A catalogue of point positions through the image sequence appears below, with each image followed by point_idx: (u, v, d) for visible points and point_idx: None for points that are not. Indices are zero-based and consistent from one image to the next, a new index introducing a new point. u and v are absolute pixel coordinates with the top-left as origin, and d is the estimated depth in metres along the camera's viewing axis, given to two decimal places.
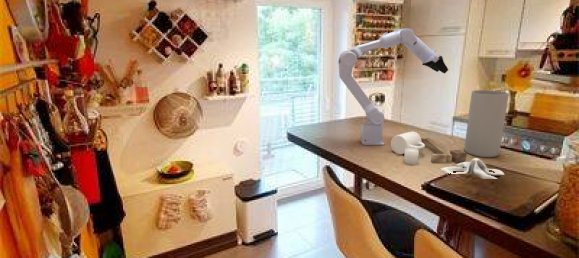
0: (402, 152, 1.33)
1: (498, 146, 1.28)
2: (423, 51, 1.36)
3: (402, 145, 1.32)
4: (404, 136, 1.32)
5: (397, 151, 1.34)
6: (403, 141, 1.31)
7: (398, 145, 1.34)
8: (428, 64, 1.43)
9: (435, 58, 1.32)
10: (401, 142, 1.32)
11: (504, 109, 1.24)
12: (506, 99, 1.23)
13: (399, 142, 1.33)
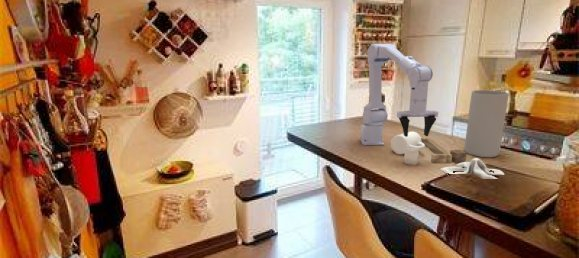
0: (402, 152, 1.33)
1: (498, 146, 1.28)
2: (410, 101, 1.20)
3: (402, 145, 1.32)
4: (404, 136, 1.32)
5: (397, 151, 1.34)
6: (403, 141, 1.31)
7: (398, 145, 1.34)
8: (425, 120, 1.23)
9: (397, 113, 1.20)
10: (401, 142, 1.32)
11: (504, 109, 1.24)
12: (506, 99, 1.23)
13: (399, 142, 1.33)
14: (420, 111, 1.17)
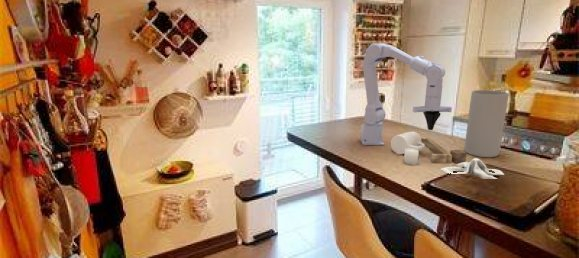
0: (402, 152, 1.33)
1: (498, 146, 1.28)
2: (425, 98, 1.30)
3: (402, 145, 1.32)
4: (404, 136, 1.32)
5: (397, 151, 1.34)
6: (403, 141, 1.31)
7: (398, 145, 1.34)
8: None
9: (413, 109, 1.31)
10: (401, 142, 1.32)
11: (504, 109, 1.24)
12: (506, 99, 1.23)
13: (399, 142, 1.33)
14: (434, 107, 1.27)
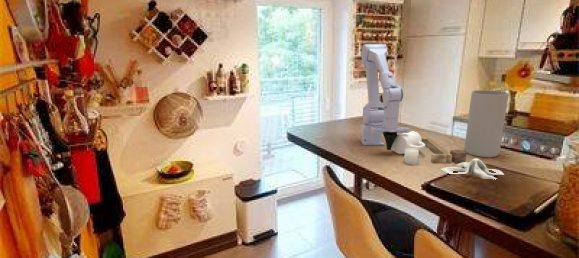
0: (402, 152, 1.32)
1: (498, 146, 1.28)
2: (383, 119, 1.32)
3: (402, 145, 1.32)
4: (404, 136, 1.32)
5: (397, 151, 1.34)
6: (403, 141, 1.31)
7: (398, 145, 1.34)
8: None
9: (372, 129, 1.33)
10: (401, 142, 1.32)
11: (504, 109, 1.24)
12: (506, 99, 1.23)
13: (399, 142, 1.33)
14: (391, 128, 1.30)
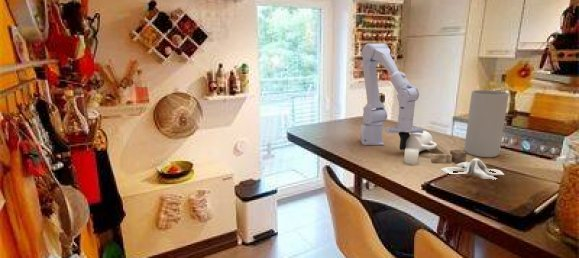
0: None
1: (498, 146, 1.28)
2: (398, 119, 1.32)
3: (414, 145, 1.32)
4: (416, 136, 1.32)
5: None
6: (415, 141, 1.31)
7: (410, 145, 1.34)
8: (400, 136, 1.35)
9: (386, 129, 1.33)
10: (413, 142, 1.32)
11: (504, 109, 1.24)
12: (506, 99, 1.23)
13: (411, 142, 1.33)
14: (406, 128, 1.30)
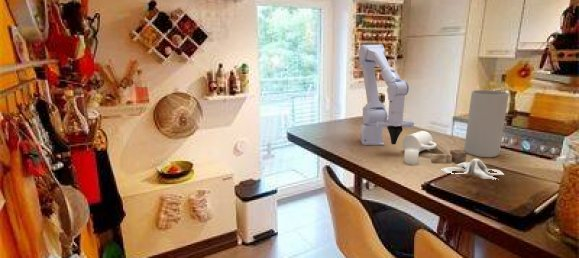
0: None
1: (498, 146, 1.28)
2: (388, 113, 1.31)
3: (414, 145, 1.32)
4: (416, 136, 1.32)
5: None
6: (415, 141, 1.31)
7: (410, 145, 1.34)
8: None
9: (376, 123, 1.32)
10: (413, 142, 1.32)
11: (504, 109, 1.24)
12: (506, 99, 1.23)
13: (411, 142, 1.33)
14: (396, 122, 1.29)
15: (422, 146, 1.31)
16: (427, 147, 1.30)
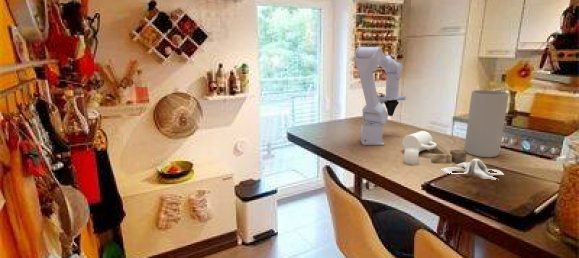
0: None
1: (498, 146, 1.28)
2: (386, 89, 1.54)
3: (414, 145, 1.32)
4: (416, 136, 1.32)
5: None
6: (415, 141, 1.31)
7: (410, 145, 1.34)
8: None
9: (378, 99, 1.54)
10: (413, 142, 1.32)
11: (504, 109, 1.24)
12: (506, 99, 1.23)
13: (411, 142, 1.33)
14: (395, 96, 1.53)
15: (422, 146, 1.31)
16: (427, 147, 1.30)
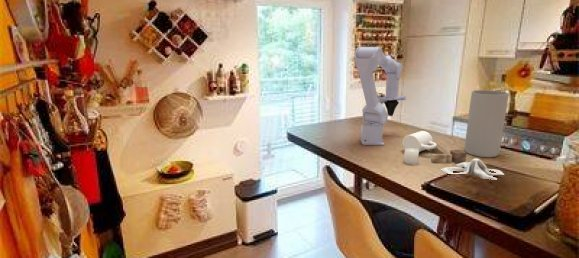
0: None
1: (498, 146, 1.28)
2: (386, 89, 1.54)
3: (414, 145, 1.32)
4: (416, 136, 1.32)
5: None
6: (415, 141, 1.31)
7: (410, 145, 1.34)
8: None
9: (378, 99, 1.54)
10: (413, 142, 1.32)
11: (504, 109, 1.24)
12: (506, 99, 1.23)
13: (411, 142, 1.33)
14: (395, 96, 1.53)
15: (422, 146, 1.31)
16: (427, 147, 1.30)
